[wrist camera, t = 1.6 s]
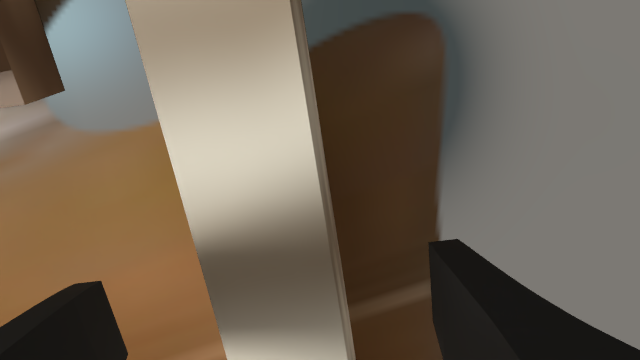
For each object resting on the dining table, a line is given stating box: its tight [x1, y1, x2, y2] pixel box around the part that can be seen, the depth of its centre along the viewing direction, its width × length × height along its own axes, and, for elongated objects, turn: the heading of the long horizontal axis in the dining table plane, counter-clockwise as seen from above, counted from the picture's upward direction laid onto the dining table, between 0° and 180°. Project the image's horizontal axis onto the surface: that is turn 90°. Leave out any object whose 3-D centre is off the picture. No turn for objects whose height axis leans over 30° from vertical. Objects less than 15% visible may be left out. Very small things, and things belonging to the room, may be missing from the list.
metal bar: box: [125, 0, 356, 360], centre depth 13 cm, size 16×3×5 cm, turn 8°
